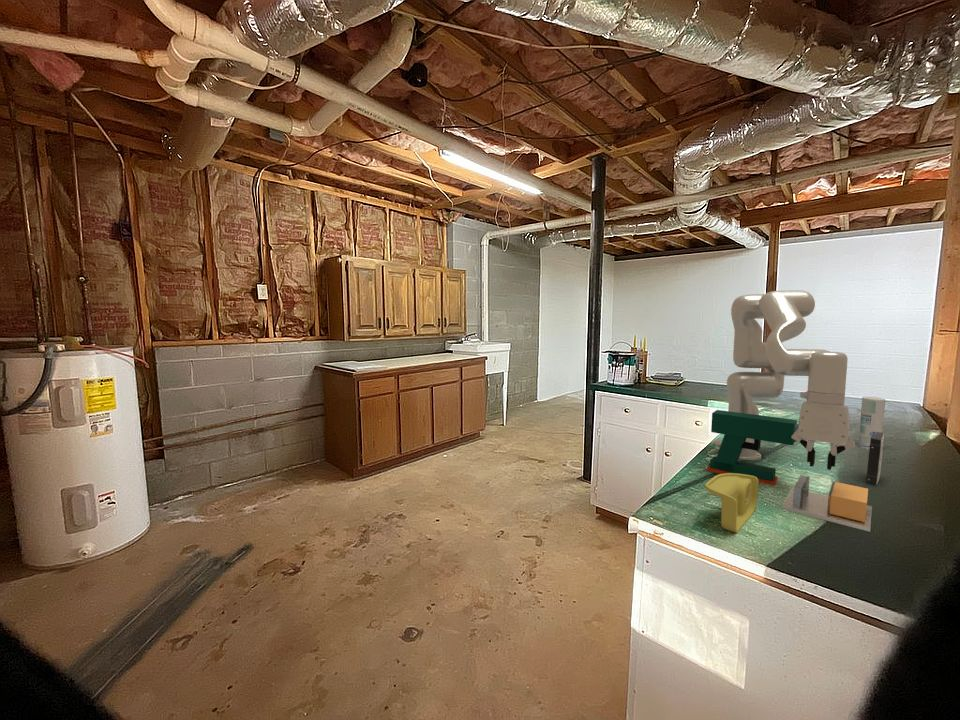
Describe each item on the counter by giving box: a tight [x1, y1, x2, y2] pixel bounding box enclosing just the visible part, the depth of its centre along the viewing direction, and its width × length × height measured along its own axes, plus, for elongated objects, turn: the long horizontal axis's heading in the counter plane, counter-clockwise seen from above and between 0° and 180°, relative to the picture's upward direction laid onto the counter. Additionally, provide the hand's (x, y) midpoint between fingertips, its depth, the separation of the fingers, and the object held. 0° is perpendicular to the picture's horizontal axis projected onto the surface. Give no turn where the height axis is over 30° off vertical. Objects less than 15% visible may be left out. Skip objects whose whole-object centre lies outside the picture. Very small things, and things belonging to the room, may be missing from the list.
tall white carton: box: [858, 396, 886, 450], centre depth 159 cm, size 6×6×20 cm
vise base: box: [781, 474, 873, 533], centre depth 108 cm, size 17×16×6 cm
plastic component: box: [704, 473, 760, 534], centre depth 104 cm, size 20×7×10 cm, turn 133°
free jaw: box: [827, 481, 869, 522], centre depth 105 cm, size 7×12×5 cm, turn 135°
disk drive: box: [865, 432, 885, 486], centre depth 127 cm, size 10×3×15 cm, turn 133°
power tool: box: [707, 409, 799, 486], centre depth 127 cm, size 32×7×20 cm, turn 47°
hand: (820, 466), depth 108 cm, fingers open, 3 cm apart
